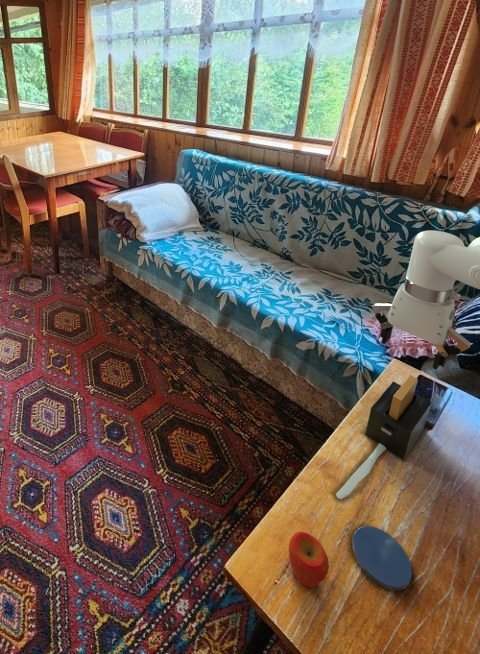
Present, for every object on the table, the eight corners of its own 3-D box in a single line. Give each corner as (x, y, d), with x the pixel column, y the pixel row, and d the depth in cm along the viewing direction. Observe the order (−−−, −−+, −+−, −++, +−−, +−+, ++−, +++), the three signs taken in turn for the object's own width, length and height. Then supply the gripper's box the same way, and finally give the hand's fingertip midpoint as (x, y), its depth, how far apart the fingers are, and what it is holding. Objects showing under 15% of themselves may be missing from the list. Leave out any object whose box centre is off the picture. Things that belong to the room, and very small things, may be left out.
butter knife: (407, 434, 89) (393, 424, 91) (346, 505, 76) (331, 492, 79) (406, 435, 89) (392, 426, 92) (345, 507, 76) (331, 493, 79)
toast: (401, 407, 92) (410, 374, 88) (409, 411, 91) (418, 379, 87) (385, 429, 87) (393, 395, 83) (392, 434, 86) (401, 400, 82)
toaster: (386, 407, 96) (393, 381, 93) (423, 429, 90) (431, 402, 87) (363, 437, 90) (369, 409, 86) (401, 463, 83) (409, 435, 80)
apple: (330, 575, 66) (336, 550, 64) (314, 606, 63) (319, 581, 60) (296, 543, 71) (300, 519, 68) (279, 570, 67) (283, 545, 65)
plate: (402, 540, 70) (403, 536, 70) (418, 601, 62) (419, 597, 62) (348, 522, 74) (349, 518, 73) (356, 577, 66) (357, 573, 65)
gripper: (488, 300, 72) (465, 368, 78) (387, 266, 85) (374, 326, 91) (476, 316, 68) (453, 386, 74) (372, 277, 81) (360, 339, 87)
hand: (409, 353), depth 82 cm, fingers open, 9 cm apart
